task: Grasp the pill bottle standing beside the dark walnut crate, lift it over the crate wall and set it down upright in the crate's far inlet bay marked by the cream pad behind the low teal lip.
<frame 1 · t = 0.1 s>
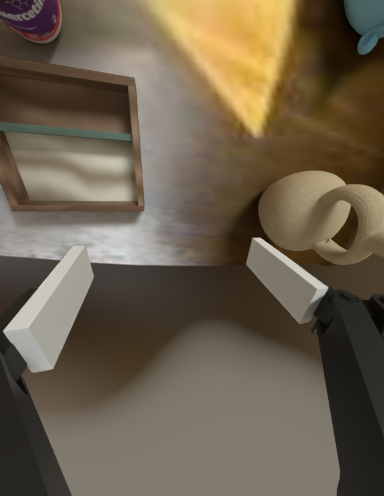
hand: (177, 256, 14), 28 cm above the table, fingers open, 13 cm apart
crate: (78, 150, 31), on the table
pill bottle: (30, 4, 23), on the table
vase: (271, 201, 45), on the table
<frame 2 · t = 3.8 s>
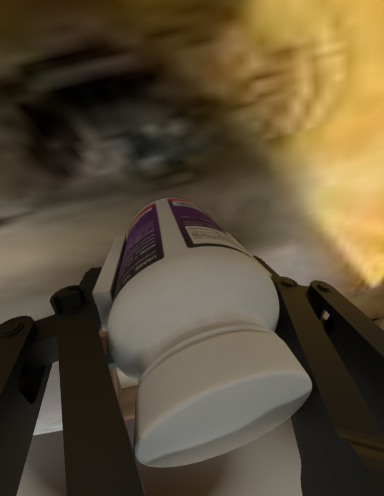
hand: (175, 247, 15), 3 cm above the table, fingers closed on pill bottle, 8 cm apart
crate: (184, 337, 26), on the table
pill bottle: (171, 234, 18), on the table, touching gripper
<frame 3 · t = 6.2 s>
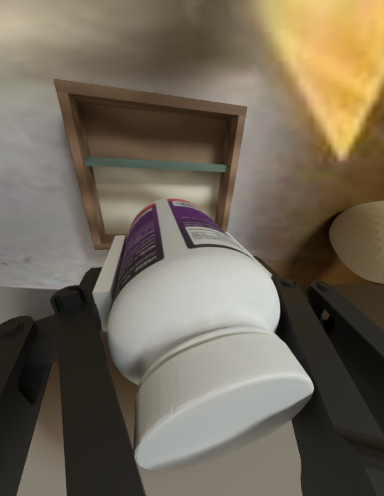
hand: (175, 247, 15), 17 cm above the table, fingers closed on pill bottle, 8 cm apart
crate: (161, 180, 28), on the table
pill bottle: (171, 234, 17), point 15 cm above the table, touching gripper
vase: (340, 224, 42), on the table
when the fingers open (6 cm above the table, at t = 8.8 s): pill bottle drops 2 cm, resting on crate.
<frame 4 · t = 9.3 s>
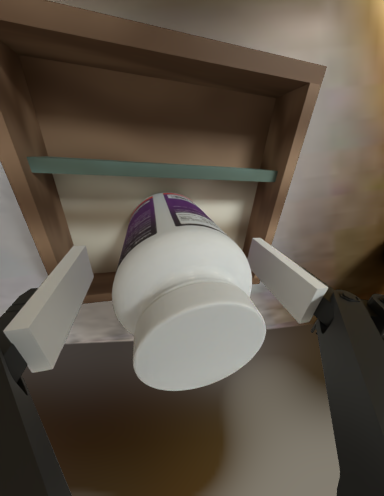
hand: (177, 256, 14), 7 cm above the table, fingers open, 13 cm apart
crate: (168, 194, 18), on the table
pill bottle: (167, 226, 19), point 1 cm above the table, touching crate
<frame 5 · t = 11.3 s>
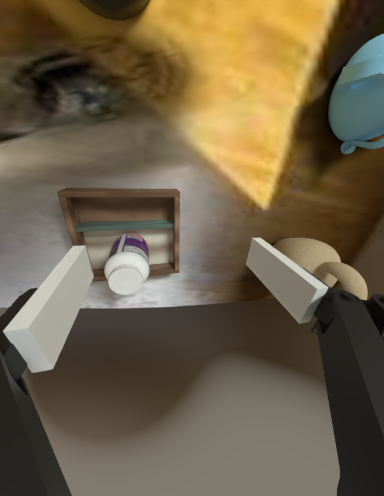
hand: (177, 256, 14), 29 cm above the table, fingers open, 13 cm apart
crate: (131, 232, 41), on the table
pill bottle: (131, 246, 42), point 1 cm above the table, touching crate
vase: (277, 251, 55), on the table
teapot: (356, 95, 39), on the table
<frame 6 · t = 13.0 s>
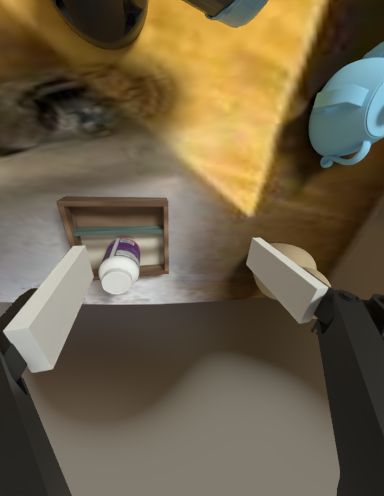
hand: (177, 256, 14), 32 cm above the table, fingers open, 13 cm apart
crate: (124, 236, 44), on the table
pill bottle: (125, 248, 46), point 1 cm above the table, touching crate
vase: (262, 254, 59), on the table
teapot: (335, 113, 42), on the table
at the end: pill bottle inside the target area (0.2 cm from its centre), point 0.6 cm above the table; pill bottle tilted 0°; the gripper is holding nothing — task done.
